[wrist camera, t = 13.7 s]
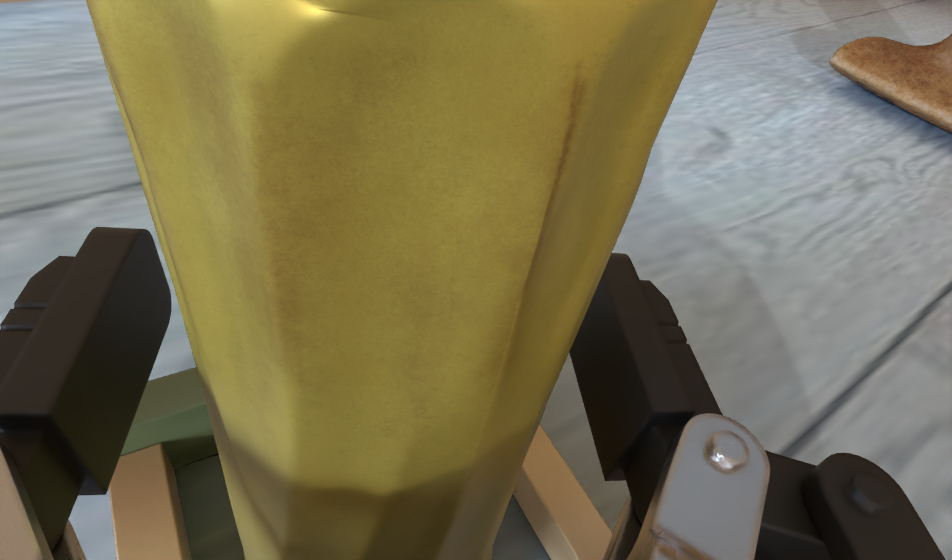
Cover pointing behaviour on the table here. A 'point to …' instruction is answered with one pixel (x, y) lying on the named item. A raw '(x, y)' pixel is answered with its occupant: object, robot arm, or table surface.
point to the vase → (387, 237)
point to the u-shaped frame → (191, 438)
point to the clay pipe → (902, 75)
